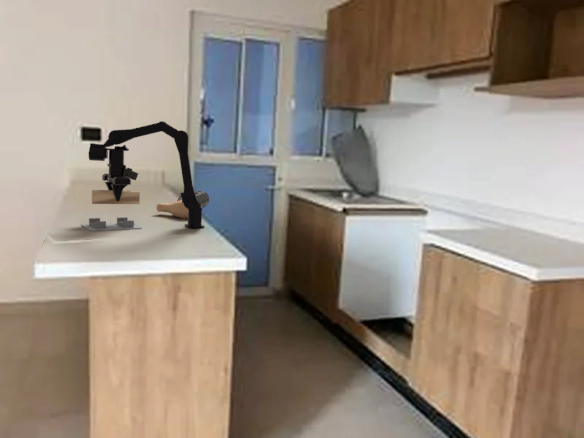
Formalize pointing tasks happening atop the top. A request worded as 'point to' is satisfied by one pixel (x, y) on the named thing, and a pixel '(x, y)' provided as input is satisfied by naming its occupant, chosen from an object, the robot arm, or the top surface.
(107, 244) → the top surface
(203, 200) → the muzzle brake
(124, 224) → the mount board
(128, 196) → the oak rail
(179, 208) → the squash
